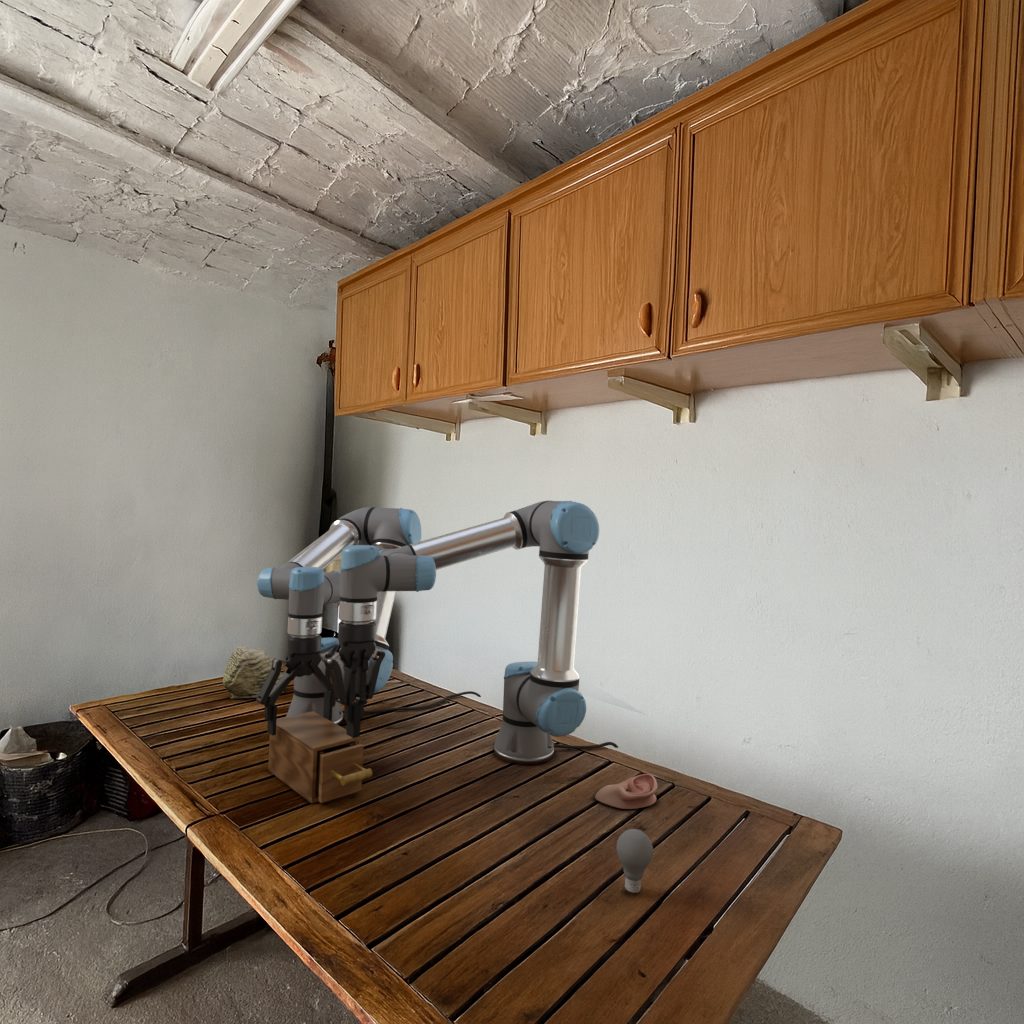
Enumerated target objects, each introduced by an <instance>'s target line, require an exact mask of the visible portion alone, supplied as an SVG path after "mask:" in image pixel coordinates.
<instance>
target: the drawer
mask: <svg viewBox="0 0 1024 1024" xmlns="http://www.w3.org/2000/svg"><path fill="white" fill-rule="evenodd" d="M363 764H364V744H362V743H359V744H358V745H354V743H352V742H350V743H346V744H342V745H339V746H335V747H331V748H328V749H324V750H320V751H317V771H316V794H317V795H318V796H319V801H318V802H319V804H324V803H326V802H330V801H332V800H336V799H339V798H342V797H345V796H348V795H351V794H354V793H356V792H360V791H362V790H363V789H362V788H363V780H367V779H369V778H372V777H373V770H372V768H370V767H369V768H364V767H363Z"/></svg>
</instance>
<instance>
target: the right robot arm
mask: <svg viewBox="0 0 1024 1024" xmlns="http://www.w3.org/2000/svg"><path fill="white" fill-rule="evenodd" d="M599 537H600V524H599V519H598V517H597V515H596V514H595V512H594V511H593V510H592V509H591V507H589V506H588V505H586V504H584V503H581V502H578V501H572V500H542V501H539V502H535V503H532V504H530V505H527V506H524V507H521V508H518V509H514V510H512V511H508V512H506V513H505V514H504V515H503V517H502V518H499V519H495V520H491V521H487V522H485V523H480V524H477V525H473V526H469V527H466V528H463V529H459V530H457V531H453V532H449V533H446V534H441V535H439V536H435V537H432V538H428V539H425V540H421V541H420V542H417V543H413V544H410V545H407V546H403V547H399V548H396V549H391V548H388V549H383V550H381V551H379V548H378V547H376V546H371V545H350V546H346V547H345V548H344V549H343V551H342V554H341V560H340V567H339V569H340V570H339V571H340V601H339V602H338V603H339V605H338V619H339V620H340V622H339V623H338V627H337V628H338V629H337V638H338V641H339V645H338V647H337V650H336V654H335V655H333V656H332V657H331V658H329V657H328V658H326V660H325V662H326V664H327V666H328V667H329V669H330V674H331V679H332V685H333V690H334V695H335V700H336V702H338V703H340V705H342V706H343V710H344V713H343V721H346V730H347V733H346V734H347V735H349V736H350V737H352V738H356V737H359V738H360V737H361V719H363V718H364V715H365V713H364V710H365V705H367V704H368V700H372V699H373V697H374V695H375V693H374V691H375V686H376V682H377V678H378V674H379V670H380V666H381V662H382V661H383V659H384V657H385V652H383V651H380V650H378V649H376V644H375V642H374V640H375V638H376V623H375V622H374V621H373V620H375V619H376V612H377V594H378V592H385V591H396V592H416V593H418V592H423V591H430V590H432V589H433V588H434V586H435V584H436V580H437V570H441V569H444V568H447V567H451V566H454V565H457V564H458V565H459V564H460V563H464V562H467V561H471V560H474V559H477V558H481V557H484V556H487V555H491V554H494V553H497V552H500V551H504V550H507V549H510V548H512V549H514V550H517V551H518V550H521V549H524V548H531V547H538V548H539V549H538V558H539V559H540V560H541V562H543V565H544V569H543V580H542V581H543V583H542V596H541V609H540V610H541V611H540V612H541V613H540V625H539V637H538V638H539V639H538V652H537V661H516V662H511V663H508V664H507V665H506V666H505V668H504V676H503V701H502V703H503V704H502V721H501V725H500V727H499V730H498V733H497V735H496V738H495V741H494V745H493V752H494V754H495V756H496V757H497V758H499V759H500V760H502V761H505V762H508V763H510V764H511V763H512V764H516V765H538V764H543V763H547V762H549V761H551V760H552V759H553V757H554V755H555V748H559V749H570V750H591V749H599V748H603V747H607V746H612V747H614V748H615V749H618V748H619V746H618V745H617V744H616V743H615V742H613V741H605V742H602V743H598V744H591V745H571V744H570V745H569V744H559V743H554V740H553V738H552V737H556V738H558V737H559V738H561V737H565V736H568V735H570V734H572V733H574V732H575V731H576V729H578V728H580V726H581V725H582V724H583V722H584V720H585V717H586V713H587V701H586V699H585V697H584V696H583V694H582V692H580V691H579V689H580V678H581V677H580V674H579V673H578V672H577V670H576V669H575V656H576V641H577V629H578V616H579V615H578V613H579V601H580V587H581V576H582V575H581V574H582V567H583V566H584V565H585V564H586V563H587V562H588V561H589V553H590V551H591V550H592V549H593V548H594V546H595V545H596V544H597V542H598V540H599ZM370 658H371V659H370ZM340 659H341V661H342V662H343V669H344V683H343V677H342V672H341V668H340V666H339V665H340V664H341V663H340ZM369 660H370V662H369V667H368V661H369ZM367 670H368V671H367Z"/></svg>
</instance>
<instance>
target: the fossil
mask: <svg viewBox="0 0 1024 1024" xmlns="http://www.w3.org/2000/svg"><path fill="white" fill-rule="evenodd" d="M272 661H273V659H272V658H271V657H270V656H269V655H268V654H267V653H266V652H265V650H264V649H263V648H260V647H258V648H251V647H247V646H246V647H245V646H238V647H237V648H236V649H235V650H233V651H232V653H231V656H230V657H229V659H228V660H227V663H226V666H225V668H224V671H223V675H222V676H223V677H222V685H223V687H224V688H225V690H226V691H228V693H229V698H230V699H250V698H257V696H258V694H259V692H260V690H261V688H262V686H263V684H264V682H265V680H266V678H267V676H268V674H269V672H270V670H271V667H272ZM282 676H283V672H282V671H281V672H280V675H279V677H278V679H277V681H276V683H275V685H276V684H277V682H278V681H279V680H280V679H281V677H282ZM275 685H274V686H275ZM273 688H274V687H273ZM286 689H287V687H286V688H285V690H284V691H283V692H282V694H284V693H285V691H286Z"/></svg>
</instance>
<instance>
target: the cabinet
mask: <svg viewBox="0 0 1024 1024" xmlns="http://www.w3.org/2000/svg"><path fill="white" fill-rule="evenodd" d="M346 733H347V728H344V727H342V726H340V725H337V724H335V723H333V722H332V721H330V720H328V719H326V718H324V717H323V716H321V715H319V714H317V713H315V712H314V711H312V712H307V713H303V714H298V715H294V716H289V717H286V716H285V717H281V718H277V720H276V735H273V736H272V735H271V734H269V744H268V768H267V769H268V771H269V773H271V774H272V775H274V776H275V777H276V778H278V779H279V780H280V781H281V782H282V783H284V784H285V785H286V786H288V787H289V788H290V789H292V790H293V791H295V792H296V793H297V794H299V796H301V797H303V799H305V801H307V802H308V803H310V804H315V803H317V802H319V796H318V795H317V794H316V771H317V751H320V750H324V749H328V748H331V747H335V746H339V745H342V744H346V743H350V742H352V743H354V745H358V744H360V742H359V741H360V740H359V739H360V737H356V738H352V737H350V736H349V735H347V734H346Z"/></svg>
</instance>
